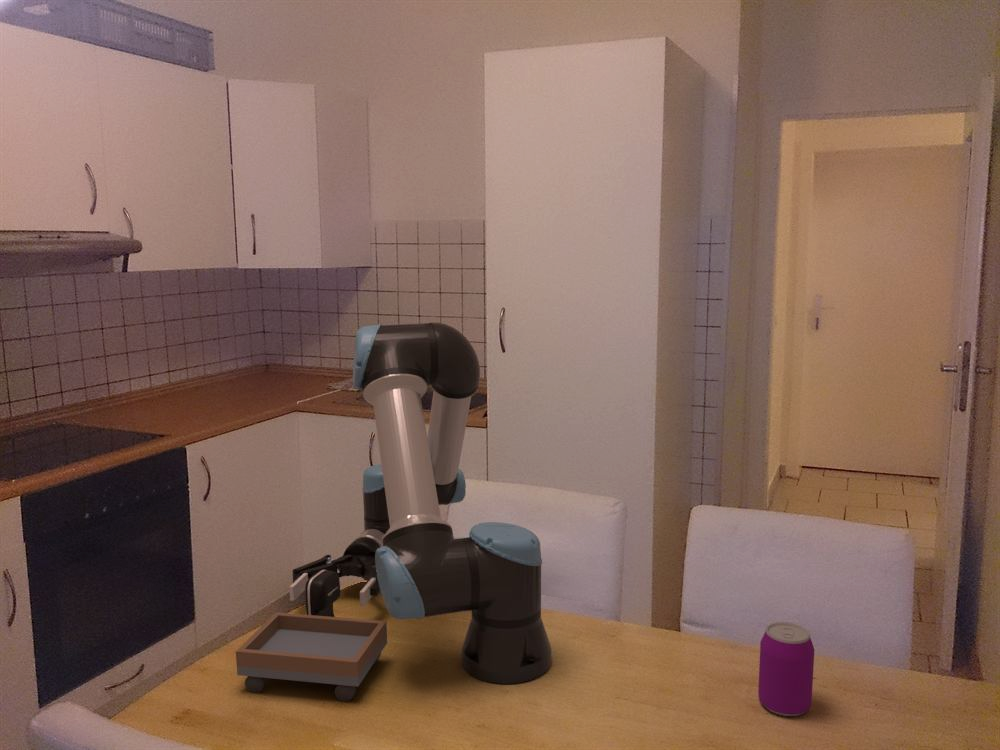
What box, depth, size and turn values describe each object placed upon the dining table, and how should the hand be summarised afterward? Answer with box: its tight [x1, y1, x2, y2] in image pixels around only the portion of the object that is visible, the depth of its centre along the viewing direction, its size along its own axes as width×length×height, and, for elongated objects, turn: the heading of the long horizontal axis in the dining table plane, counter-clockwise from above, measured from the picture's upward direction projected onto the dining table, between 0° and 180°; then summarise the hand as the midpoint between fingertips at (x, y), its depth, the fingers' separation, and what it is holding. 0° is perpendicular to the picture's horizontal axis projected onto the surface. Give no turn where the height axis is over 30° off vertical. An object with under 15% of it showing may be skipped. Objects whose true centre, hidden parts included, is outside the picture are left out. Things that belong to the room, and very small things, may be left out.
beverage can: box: [757, 621, 815, 717], centre depth 126 cm, size 8×8×12 cm
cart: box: [235, 611, 388, 703], centre depth 136 cm, size 20×14×7 cm
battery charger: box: [304, 570, 341, 617], centre depth 150 cm, size 7×4×11 cm, turn 162°
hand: (326, 596), depth 152 cm, fingers open, 13 cm apart
